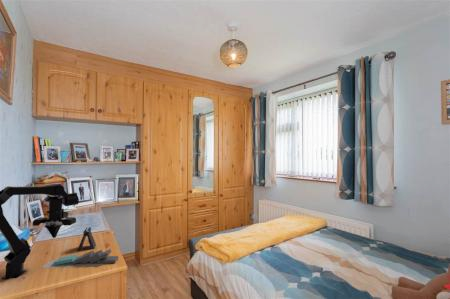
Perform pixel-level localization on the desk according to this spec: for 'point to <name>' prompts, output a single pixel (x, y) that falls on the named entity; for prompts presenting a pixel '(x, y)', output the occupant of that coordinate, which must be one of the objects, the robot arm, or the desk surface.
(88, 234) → the phone stand
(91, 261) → the domino
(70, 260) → the domino
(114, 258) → the domino
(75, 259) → the domino
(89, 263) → the mat
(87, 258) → the domino
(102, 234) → the desk surface
